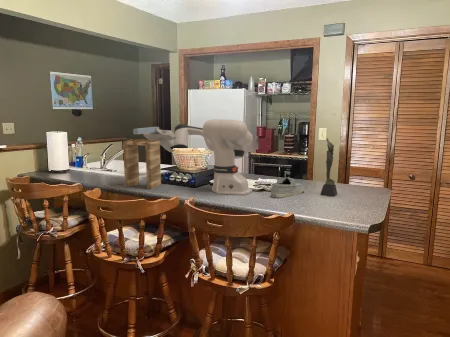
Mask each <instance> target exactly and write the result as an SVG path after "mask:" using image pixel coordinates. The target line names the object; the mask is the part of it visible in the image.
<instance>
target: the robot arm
mask: <svg viewBox="0 0 450 337" xmlns="http://www.w3.org/2000/svg"><path fill="white" fill-rule="evenodd" d="M155 131H156V132H153V133H145V134H142V135H143V137H145V139H146V140H149V141H152V140H157V141H160V147H163V149H164V150H166V151H168V152H169V153H172V149H173V148H187V149H188V148H189V147H188V146H189V136H190V134H192V135H195V136H196V135H197V136H201V137H203V139H204V142H205V145H206V147H207V148H208V150H210V151H211V152H213V154H214V155H213V157H214V165H213V183H212V186H211V187H212V188H211V191H212V192H214V193H215V194H217V195H237V196H245V195H249V194H251V193H252V192H253V188H252V189H250V188H251V187H249V182H248V180H247V178H245V177H244V175H243V174H241V173H240V172H239V166H237V165H236V164H235V161H236V159H237V160H238V159H240V158H243V157H244V155H245V153H246V152H245V149H246V147H249V146H251V145H252V143H253V142H254V137H253V133H251V132H250V131H249V130H248V126H247V124H246V122H244V121H242V120H238V119H217V118H216V119H210V120H206V121H205V122H204V123H203V126H202V127H198V126H197V127H196V126H192V125H188V124H185V123H184V124H183V123H178V124H177V125H176V126H175V127H174V132H173V131H172V130H168V129H165V130H164V129H160V128H159V129H158V128H155Z"/></svg>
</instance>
